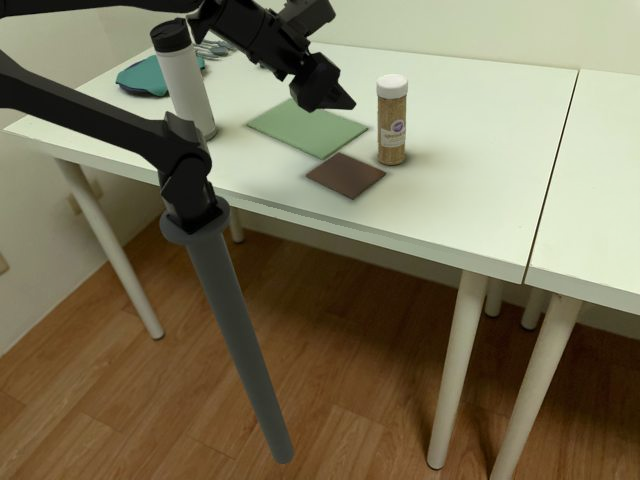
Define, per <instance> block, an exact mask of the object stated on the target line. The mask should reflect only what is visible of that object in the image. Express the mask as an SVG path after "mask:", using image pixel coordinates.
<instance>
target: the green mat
mask: <svg viewBox="0 0 640 480" xmlns="http://www.w3.org/2000/svg"><path fill="white" fill-rule="evenodd" d="M246 126H247V127H249V128H251V129H253V130H256V131H257V132H260V133H262V134H264V135H266V136H269V137H270V138H273V139H275V140H277V141H279V142H282V143H284V144H286V145H288V146H291V147H293V148H295V149H297V150H300V151H301V152H304V153H306V154H308V155H310V156H313V157H315V158H317V159H320V160H321V161H322V160H323V161H324V160H325V159H327V157H329V156H331V155H332V154H334V153H335V152H336V151H338V150H339V149H342V147H344V146H345V145H347V144H348V143H350V142H351V141H353V140H355V138H357V137H358V136H360V135H362V134H363V133H364V132H366V131H368V129H369V126H367V125H363V124H361V123H358V122H356V121H353V120H350V119H348V118H345V117H344V116H343V117H342V116H340V115H337V114H335V113H331V112H329V111H326V110H325V109H316V110H315V111H314V112H312V113H308V112H307V111H305V110H304V109H302V108H300V107H299V106H298V105H297V104H296V102H295V101H294V99H293V98H292V97H291V98H289V99H288V100H286V101H284V102H282V103H280V104H278V105H277V106H275V107H273V108H272V109H269V110H268V111H266V112H265V113H263V114H261V115H259V116H257V117H255V118H254V119H252V120H251V121H248V122H247V123H246Z"/></svg>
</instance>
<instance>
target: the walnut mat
mask: <svg viewBox="0 0 640 480" xmlns="http://www.w3.org/2000/svg"><path fill="white" fill-rule="evenodd" d="M386 175H387V172H386V171H385V170H383V169H380V168H377V167H375V166H373V165H371V164H369V163H365V162H363V161H361V160H359V159H357V158H354V157H352V156H350V155H347V154H345V153H342V152H341V151H338V152H336V153H335V154H333V155H332V156H331V157H329V158H328V159H326V160H325V161H323V162H322V163H320V164H319V165H317V166H316V167H315V168H313V169H312V170H310V171H309V172H307V173H306V174H305V177H306V178H308V179H310V180H312V181H314V182H316V183H318V184H320V185H322V186H324V187H327V188H328V189H331V190H332V191H334V192H336V193H338V194H340V195H343V196H345V197H346V198H348V199H350V200H355V199H356V198H358V197H359V196H360V195H361V194H363V193H364V192H365V191H367V190H368V189H370V187H372V186H373V185H374V184H375V183H376V182H378V181H380V179H382V178H383V177H384V176H386Z"/></svg>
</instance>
